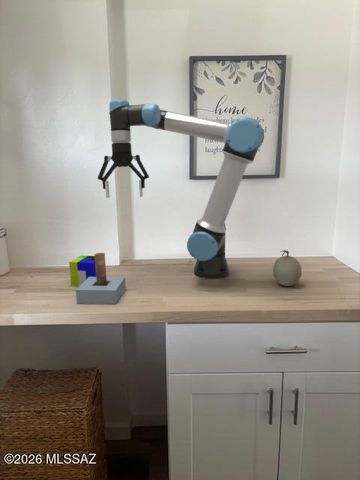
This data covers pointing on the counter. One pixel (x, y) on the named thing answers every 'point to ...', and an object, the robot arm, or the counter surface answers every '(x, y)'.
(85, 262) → the puzzle toy
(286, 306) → the counter surface
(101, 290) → the socket block
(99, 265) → the dowel
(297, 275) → the fruit
